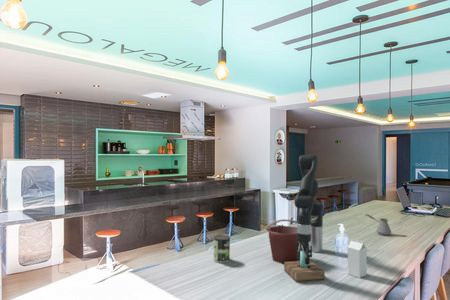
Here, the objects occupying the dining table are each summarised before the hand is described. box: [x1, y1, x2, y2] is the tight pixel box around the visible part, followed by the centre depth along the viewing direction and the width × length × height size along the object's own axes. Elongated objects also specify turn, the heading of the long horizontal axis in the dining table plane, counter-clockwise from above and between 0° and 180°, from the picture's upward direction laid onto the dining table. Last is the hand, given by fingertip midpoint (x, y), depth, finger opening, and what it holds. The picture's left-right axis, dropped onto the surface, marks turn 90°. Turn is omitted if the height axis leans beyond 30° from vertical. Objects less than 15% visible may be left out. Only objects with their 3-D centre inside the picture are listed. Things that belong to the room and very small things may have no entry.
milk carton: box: [347, 238, 368, 279], centre depth 171 cm, size 7×7×19 cm
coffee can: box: [213, 234, 231, 264], centre depth 193 cm, size 10×10×14 cm
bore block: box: [283, 260, 326, 283], centre depth 169 cm, size 16×16×5 cm
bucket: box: [265, 218, 300, 265], centre depth 195 cm, size 24×22×25 cm
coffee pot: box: [365, 213, 392, 237], centre depth 263 cm, size 21×12×15 cm, turn 42°
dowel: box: [299, 251, 308, 268], centre depth 169 cm, size 4×4×12 cm
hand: (303, 261), depth 169 cm, fingers open, 8 cm apart
